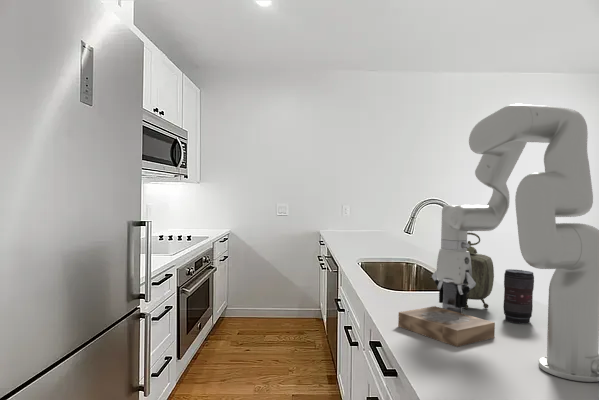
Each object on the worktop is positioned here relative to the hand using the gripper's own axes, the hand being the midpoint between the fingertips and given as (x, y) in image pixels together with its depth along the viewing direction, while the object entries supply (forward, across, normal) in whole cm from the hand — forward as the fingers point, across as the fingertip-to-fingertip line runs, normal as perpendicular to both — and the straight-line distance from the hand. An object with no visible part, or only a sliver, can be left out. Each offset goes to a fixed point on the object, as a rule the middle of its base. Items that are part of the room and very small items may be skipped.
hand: (452, 304), depth 143 cm
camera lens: (+4, -12, -15) cm, 20 cm away
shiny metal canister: (+4, 0, 0) cm, 4 cm away
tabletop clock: (+4, +6, -15) cm, 17 cm away
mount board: (+4, -9, +14) cm, 17 cm away
